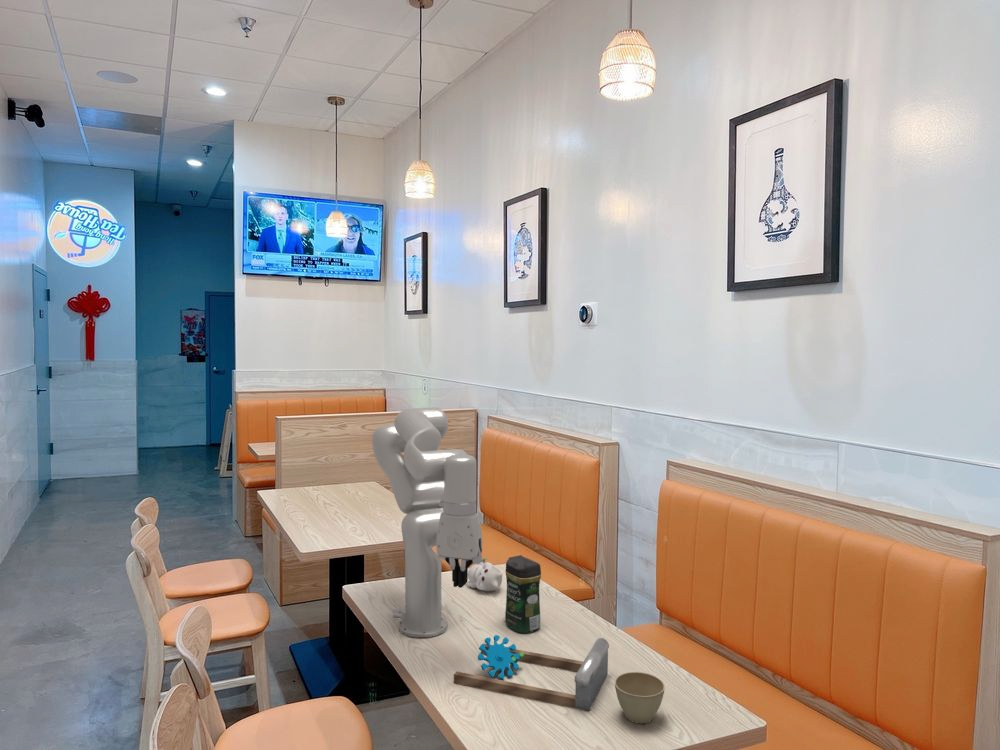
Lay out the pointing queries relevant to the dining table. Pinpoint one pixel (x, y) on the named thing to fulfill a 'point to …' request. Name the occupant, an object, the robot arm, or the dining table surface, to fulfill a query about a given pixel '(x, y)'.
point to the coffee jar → (522, 594)
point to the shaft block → (591, 675)
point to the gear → (499, 657)
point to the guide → (525, 690)
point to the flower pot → (639, 695)
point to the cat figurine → (484, 576)
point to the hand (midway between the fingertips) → (459, 585)
